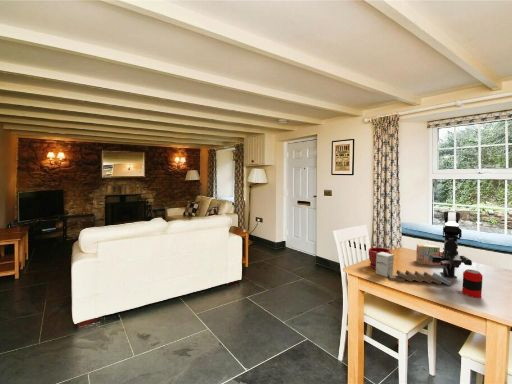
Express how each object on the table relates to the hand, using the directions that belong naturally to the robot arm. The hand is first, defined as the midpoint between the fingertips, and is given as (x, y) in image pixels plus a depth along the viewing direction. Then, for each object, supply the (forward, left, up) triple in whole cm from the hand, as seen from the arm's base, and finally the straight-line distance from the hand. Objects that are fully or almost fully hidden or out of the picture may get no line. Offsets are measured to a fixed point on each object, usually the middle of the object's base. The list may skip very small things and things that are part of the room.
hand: (448, 275), depth 147 cm
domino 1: (0, -23, -4) cm, 23 cm away
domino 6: (0, 0, -4) cm, 4 cm away
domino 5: (0, -5, -4) cm, 6 cm away
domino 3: (0, -14, -4) cm, 15 cm away
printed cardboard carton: (-37, +6, -5) cm, 38 cm away
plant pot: (-18, -33, -5) cm, 37 cm away
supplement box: (-6, -32, -5) cm, 33 cm away
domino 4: (0, -9, -4) cm, 10 cm away
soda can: (+12, +5, -5) cm, 14 cm away
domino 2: (0, -19, -4) cm, 19 cm away
